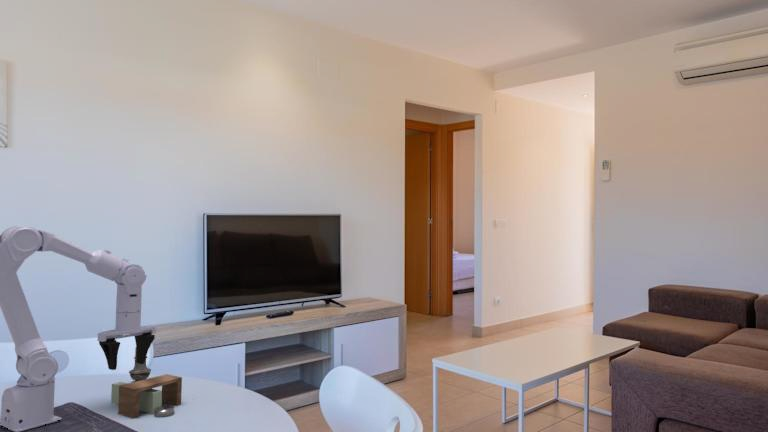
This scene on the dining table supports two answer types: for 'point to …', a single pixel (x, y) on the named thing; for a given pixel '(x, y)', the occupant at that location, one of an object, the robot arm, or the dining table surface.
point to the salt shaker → (139, 370)
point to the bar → (140, 398)
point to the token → (164, 411)
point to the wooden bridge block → (130, 391)
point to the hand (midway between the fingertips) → (126, 366)
